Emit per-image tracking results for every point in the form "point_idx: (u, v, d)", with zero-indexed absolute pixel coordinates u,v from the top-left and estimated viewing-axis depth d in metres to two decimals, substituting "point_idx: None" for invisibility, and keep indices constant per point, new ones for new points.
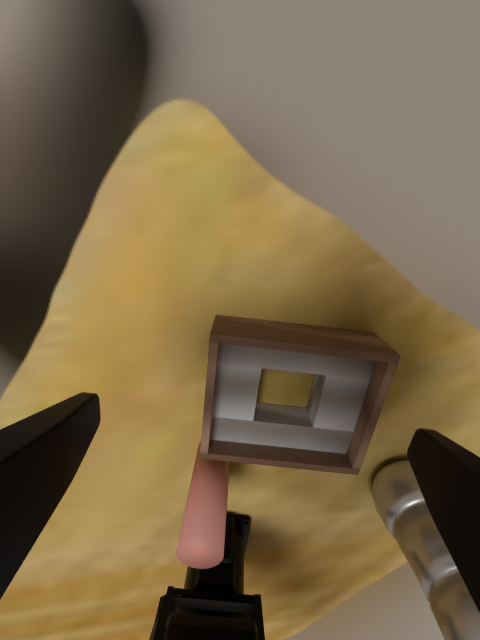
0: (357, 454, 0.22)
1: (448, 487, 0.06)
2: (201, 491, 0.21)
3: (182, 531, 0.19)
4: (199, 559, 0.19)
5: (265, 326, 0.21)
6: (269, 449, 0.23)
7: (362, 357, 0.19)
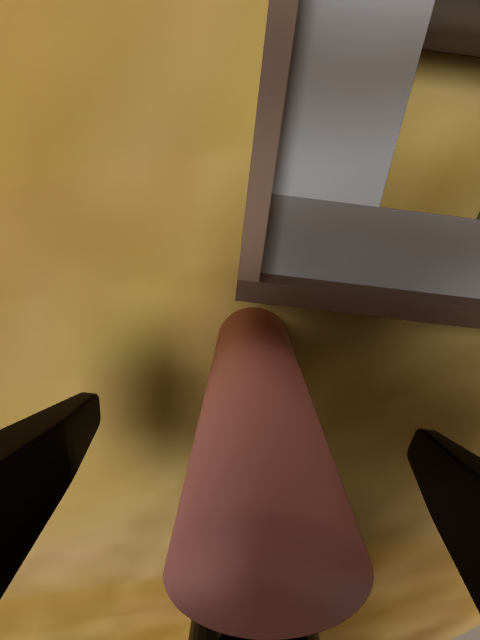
0: None
1: (448, 487, 0.06)
2: (247, 379, 0.07)
3: (189, 490, 0.05)
4: (262, 605, 0.04)
5: None
6: (415, 293, 0.09)
7: None
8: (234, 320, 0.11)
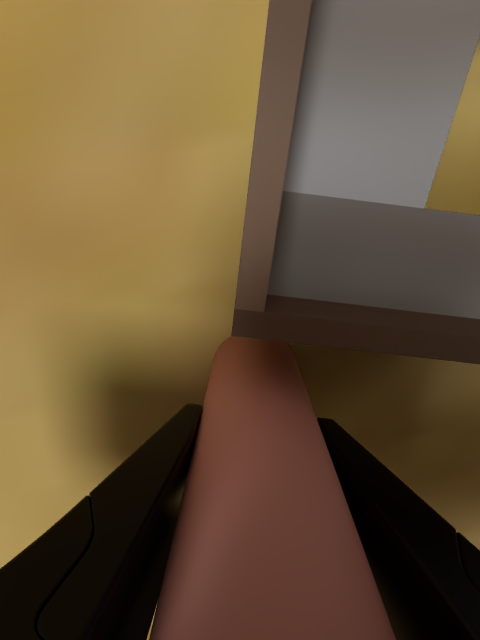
0: None
1: None
2: (248, 459, 0.05)
3: None
4: None
5: None
6: (468, 321, 0.07)
7: None
8: (231, 348, 0.09)
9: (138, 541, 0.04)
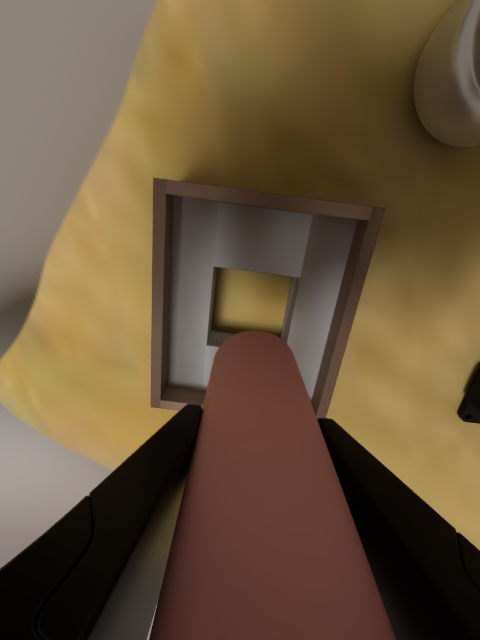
0: (338, 215, 0.13)
1: None
2: (248, 461, 0.05)
3: None
4: None
5: None
6: (329, 338, 0.16)
7: (161, 234, 0.14)
8: (231, 348, 0.09)
9: (138, 541, 0.04)
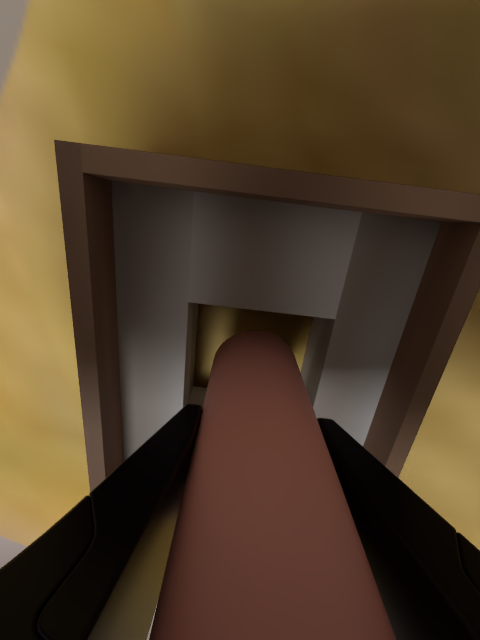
0: (422, 213, 0.07)
1: None
2: (248, 461, 0.05)
3: None
4: None
5: None
6: (381, 414, 0.10)
7: (82, 252, 0.07)
8: (231, 348, 0.09)
9: (138, 541, 0.04)
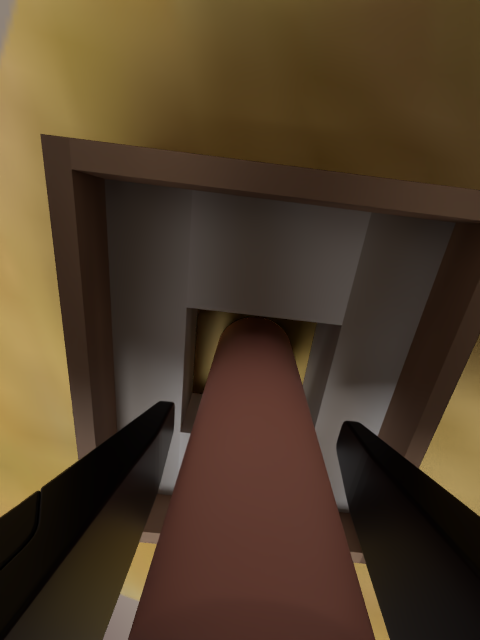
0: (439, 214, 0.06)
1: (360, 478, 0.06)
2: (240, 404, 0.06)
3: (162, 546, 0.04)
4: None
5: None
6: (390, 425, 0.10)
7: (72, 255, 0.07)
8: (233, 331, 0.10)
9: (81, 535, 0.04)
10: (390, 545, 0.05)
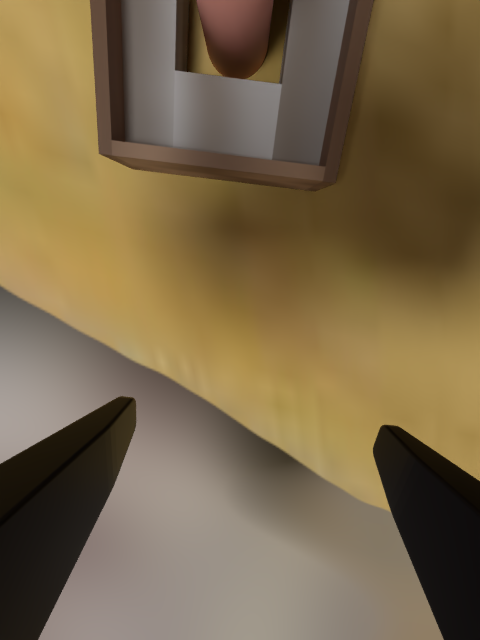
0: None
1: (406, 483, 0.06)
2: None
3: None
4: None
5: None
6: (344, 38, 0.12)
7: None
8: None
9: None
10: (445, 550, 0.05)
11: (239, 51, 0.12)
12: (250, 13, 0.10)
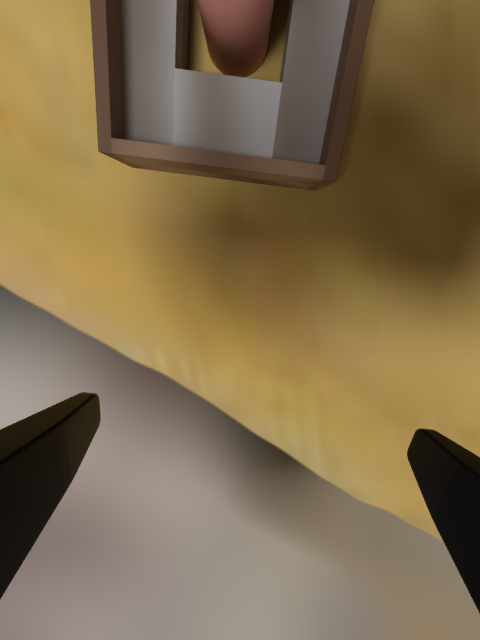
0: None
1: (448, 487, 0.06)
2: None
3: None
4: None
5: None
6: (344, 37, 0.12)
7: None
8: None
9: None
10: None
11: (240, 49, 0.12)
12: (251, 9, 0.10)
